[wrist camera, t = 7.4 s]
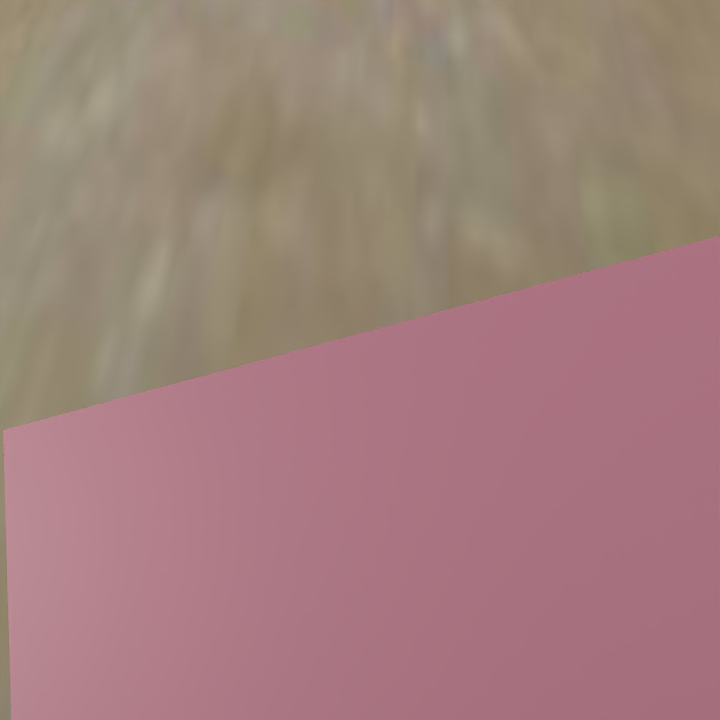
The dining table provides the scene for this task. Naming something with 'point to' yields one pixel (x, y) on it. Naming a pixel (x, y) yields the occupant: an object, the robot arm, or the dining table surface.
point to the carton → (393, 521)
